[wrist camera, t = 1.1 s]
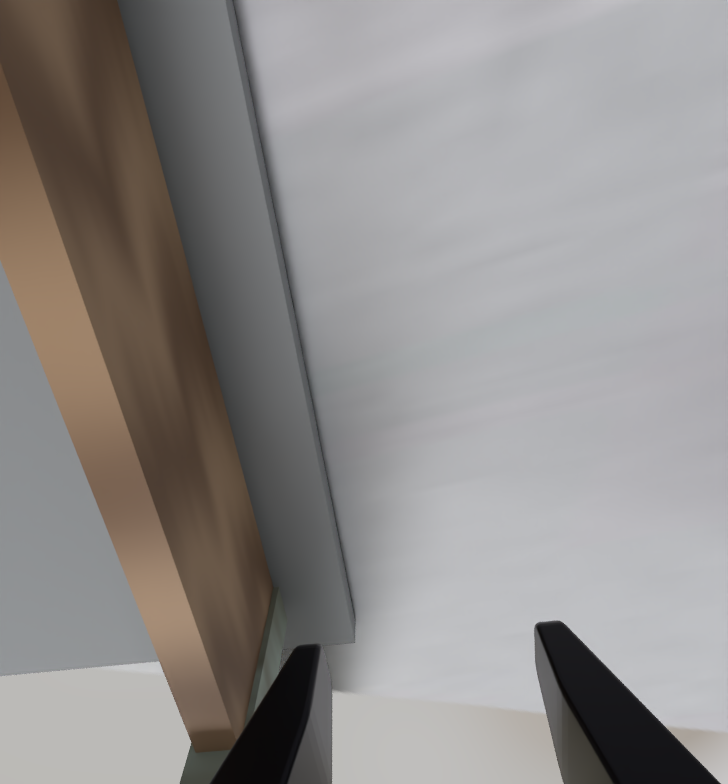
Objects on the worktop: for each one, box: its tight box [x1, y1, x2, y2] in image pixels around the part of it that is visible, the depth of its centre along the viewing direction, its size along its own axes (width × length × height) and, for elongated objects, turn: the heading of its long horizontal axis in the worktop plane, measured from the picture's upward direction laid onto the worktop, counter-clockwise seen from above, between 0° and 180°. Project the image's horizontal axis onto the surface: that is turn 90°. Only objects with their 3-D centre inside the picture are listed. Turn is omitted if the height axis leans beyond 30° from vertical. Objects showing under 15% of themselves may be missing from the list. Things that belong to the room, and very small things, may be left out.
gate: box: [0, 0, 287, 784], centre depth 14 cm, size 22×2×7 cm, turn 8°
